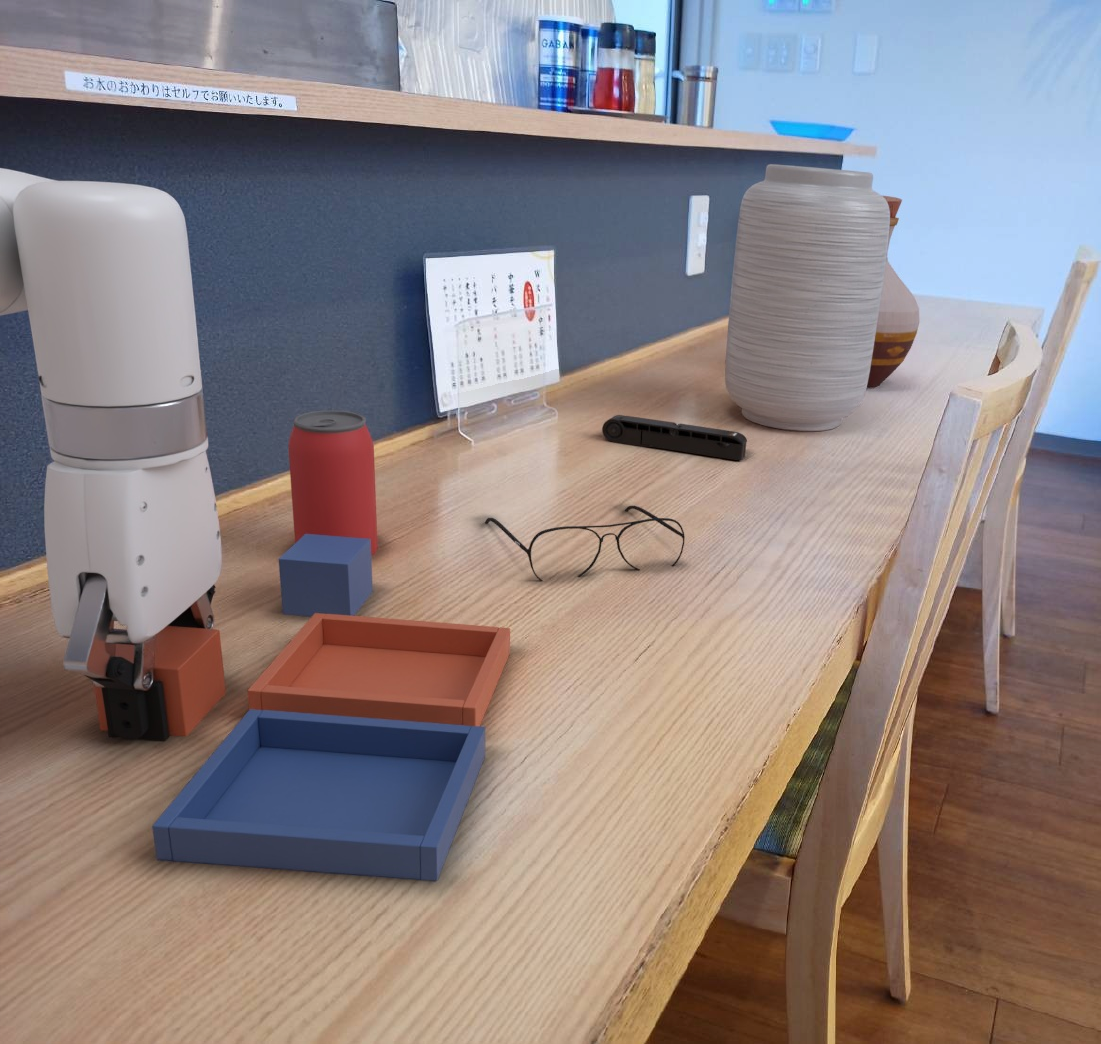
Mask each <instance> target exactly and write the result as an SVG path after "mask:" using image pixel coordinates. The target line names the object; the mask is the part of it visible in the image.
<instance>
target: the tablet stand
mask: <svg viewBox="0 0 1101 1044" xmlns="http://www.w3.org/2000/svg"><path fill="white" fill-rule="evenodd" d="M601 431H602V432H601V433H602V435H603V437H604V438H605V439H606V440H607V441H608V442H611V443H618V444H619V443H620V444H625V445H631V446H639V447H643V448H644V447H645V448H649V447H650V448H656V449H662V450H669V451H676V452H681V453H688V454H696V455H700V456H701V455H702V456H708V457H713V458H719V459H720V458H721V459H727V460H733V461H743V459H744V458H745V457H746V451H747V443H748V439H747V437H746V436H745V435H744V434H743V433H741V432H739V431H733V430H726V429H719V428H714V427H713V428H712V427H706V426H701V425H695V424H694V425H693V424H686V423H678V424H677V423H676V422H674V421H667V420H660V419H653V418H645V417H638V416H631V415H625V414H624V415H623V414H616V415H613V416H612V417H611V418H609V419H607V420H606V421H604V423H603V424H602V427H601Z"/></svg>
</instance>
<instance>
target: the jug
mask: <svg viewBox="0 0 1101 1044" xmlns="http://www.w3.org/2000/svg"><path fill="white" fill-rule="evenodd" d="M882 196H883V197H884V198H885V200H886V201H887V203H888V206H889V210H890V226H889V237H888V247H887V255H886V262H885V270H884V278H883V285H882V293H881V300H880V307H879V314H878V321H877V328H876V335H875V341H874V348H873V354H872V361H871V367H870V373H869V378H868V384H867V389H868V388H877V387H880V385H881V384H882V383H884V382H885V381H886V380H887V379H888V378H889V377H890V376H891V375H892V374H893V373H894V371H896V370H897V369H898V368H899V367H900V365H902V364H903V363H904V361H905V360H906V357H907V356H908V354H909V352H910V351H911V349H912V346H913V343H914V341H915V339H916V337H917V334H918V329H919V326H920V322H921V321H920V308H919V305H918V303H917V300H916V297H915V295H914V294H913V293H912V292H911V290H910V288H908V286H907V285H906V284H905V282H904V281H903V280H902V279H901V277H899V275H898V273H897V272H896V271H895V269H894V268H893V267H892V265H891V264H890V262H889V258H888V252H889V247H890V242H891V239H892V236H893V232H894V230H895V227H896V226H897V225H898V223H899V220H900V219H899V217H897V214H898V211H899V209H900V207H901V204H902V202H903V199H902V198H899V197H895V196H889V195H882Z"/></svg>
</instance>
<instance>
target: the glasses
mask: <svg viewBox="0 0 1101 1044" xmlns="http://www.w3.org/2000/svg"><path fill="white" fill-rule="evenodd" d="M632 509H633V510H635V511H638V512H640V513H642V514H644V515H646V516H647V517H649V518H645V519H639V520H635V521H627V522H621V523H615V524H614V523H613V524H604V525H578V526H577V525H576V526H575V525H574V526H573V525H572V526H569V525H568V526H567V525H566V526H557V527H551V528H545V529H544V530H540V531H538V532H537V533H536V534H535V535H534V536H533V537H532V538H531V539H532V540H531V542H530V544H529V546H528V548H527V547H526V546H525V545H524V544H523V543H522V542H521V541H520V540H519V539H517V537H516V536H515V535H514V534H513V533H512V532H510V530H509V529H507V527H505V526H504V524H502V523H501V522H500V521H498V519H496V518H494V517H487V518H486V520H485V521H484V524H489V523H490V522H492V523H493V524H495V525H496V526H497V527H498V528H499V529H500V530H501V531H502V532H503V533H504V534H505V535H506V536H507V537H508V538H509V539H511V541H512V542H513V543H515V545H517V546H518V547H519V548H520V549H521V550H522V551H524V552H525V553H526V554H527V558H528V562H529V564H530V568H531V571H532V573H533V574H534V576H535V577H536V578H537V580H539V581H540V582H544V580H543V579H542V578H540V577H539V576H538V575H537V573H536V571H535V570H534V565H533V561H532V549H533V545H534V543H535V541H537V539H538V538H539V537H540V536H542V535H545V534H546V533H547V534H548V533H550V532H554V531H560V530H570V529H571V530H573V529H575V530H576V529H577V530H578V529H579V530H585V531H589V532H592V533H593V534H594V535H595V536H596V537H597V538H598V540H599V543H598V550H597V552H596V554H595V556H594V558H593V560H592V561H591V562H590V564H589V565H588V567H586V568H585V570H584V571H582V572H581V573H580V574H578V575H577V578H581V577H582V576H584V575H585V574H586V573H587V572H589V570H590V569H592V567H593V566H594V564H596V561H598V560H597V559H598V558H599V555H600V553H601V550H602V543H603V542H604V538H605V537H607V536H614V538H615V541H616V547H617V551H618V552H619V554H620V556H621V558H622V559H623V560H624V562H625V564H627V565H628V566H630V567H631V568H632V569H635V570H637V571H641V569H640V568H638V567H636V566H634V565H633V564H631V563H630V562H629V561H628V560H627V559H626V557H625V555H624V554H623V552H622V550H621V546H620V544H621V543H620V538H621V536H622V535H623V533H624V532H625V531H626V530H627V529H629V528H631V527H633V526H635V525H638V524H642V523H648V522H657V523H658V524H660V525H662V527H664V528H666V529H668V530H669V531H671V532H673V534H676V535H678V536H679V537H681V539H682V544H681V547H680V548H681V549H680V552H679V554H678V557H677V558H676V560H675V561H674V562H673V564H672V565H671V567H675V566H676V565H677V563H678V561H679V560H680V559H681V556H682V554H683V551H684V546H685V532H684V528H683V527H682V525H681V523H680V522H678V521H677V520H676V519H673V518H669V517H657V516H656V515H654V514H653V513H651V512H649V511H648V510H646V509H644V508H643V507H640V506H638V505H629V506H627V507H626V508H625V509H624V511H625V512H629V511H631V510H632ZM667 522H673V523H675V524H676V525H678V527H679V529H680V531H679V530H678V529H676V528H675V527H674V526H671V525H670V524H668V523H667ZM619 526H624V527H623V528H622V529H621V530H620V531H619V533H618V534H616V533H612V532H608V533H605V534H603V535H602V536H601V537H600V534H599V533H598V532H596V531H595V530H593V529H594V528H611V527H619ZM592 528H593V529H592Z"/></svg>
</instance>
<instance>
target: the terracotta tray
mask: <svg viewBox="0 0 1101 1044" xmlns="http://www.w3.org/2000/svg"><path fill="white" fill-rule="evenodd" d="M510 653H511V629H510V627H501V626H500V627H499V626H491V625H490V626H489V625H479V624H478V625H476V624H466V623H465V624H463V623H451V622H450V623H449V622H438V621H437V622H436V621H425V620H423V621H422V620H412V619H402V618H401V619H400V618H388V617H387V618H386V617H374V616H361V615H354V616H350V615H337V614H322V613H315V614H314V615H313V616H312V617H310V618H309V619H308V621H307V622H306V623H304V625H303V626H302V627H301V628H300V630H299V631H297V633H296V634H295V635H294V637H292V639H290V640H289V642H288V643H287V645H285V647H284V648H283V649H282V650H281V651H280V652H279V654H278V655H277V656H276V657H275V658H274V660H273V661H272V662H271V663H270V664H269V665H268V666H267V667H266V669H264V671H263V672H262V673H261V674H260V675H259V677H258V678H257V679H256V680H255V681H254V682H253V684H252V685H251V686H250V687H249V688H248V689H247V698H248V711H249V710H250V709H255V710H271V711H284V712H297V713H310V714H323V715H336V716H349V717H362V718H375V719H388V720H401V721H414V722H427V723H440V724H453V725H466V726H471V727H472V726H480V727H481V724H482V722H483V720H484V717H485V715H486V712H487V710H488V708H489V705H490V703H491V701H492V698H493V696H494V694H495V693H494V692H495V691H496V689H497V686H498V683H499V681H500V679H501V677H502V673H503V671H504V669H505V667H506V664H507V662H508V659H509V656H510Z"/></svg>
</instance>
